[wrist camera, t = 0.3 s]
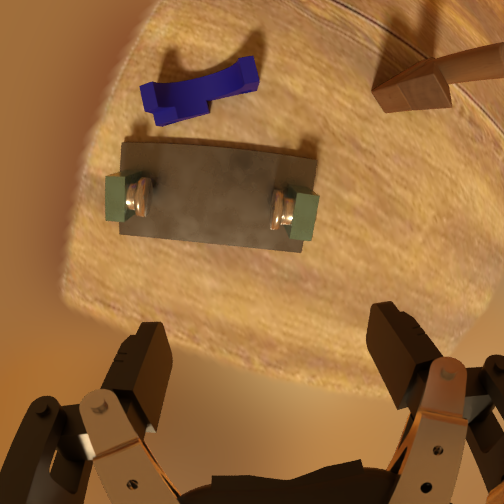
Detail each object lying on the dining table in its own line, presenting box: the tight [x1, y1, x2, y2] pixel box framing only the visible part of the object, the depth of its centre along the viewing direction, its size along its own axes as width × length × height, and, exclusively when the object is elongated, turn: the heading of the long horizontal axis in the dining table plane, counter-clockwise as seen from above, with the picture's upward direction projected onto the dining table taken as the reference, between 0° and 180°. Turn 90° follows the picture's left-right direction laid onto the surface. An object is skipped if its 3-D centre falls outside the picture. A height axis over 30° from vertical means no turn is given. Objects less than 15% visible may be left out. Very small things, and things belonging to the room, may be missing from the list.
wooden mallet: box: [372, 42, 504, 113], centre depth 22 cm, size 4×11×18 cm, turn 128°
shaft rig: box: [105, 142, 320, 253], centre depth 32 cm, size 12×24×6 cm, turn 83°
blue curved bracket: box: [140, 56, 260, 127], centre depth 28 cm, size 12×4×6 cm, turn 102°
